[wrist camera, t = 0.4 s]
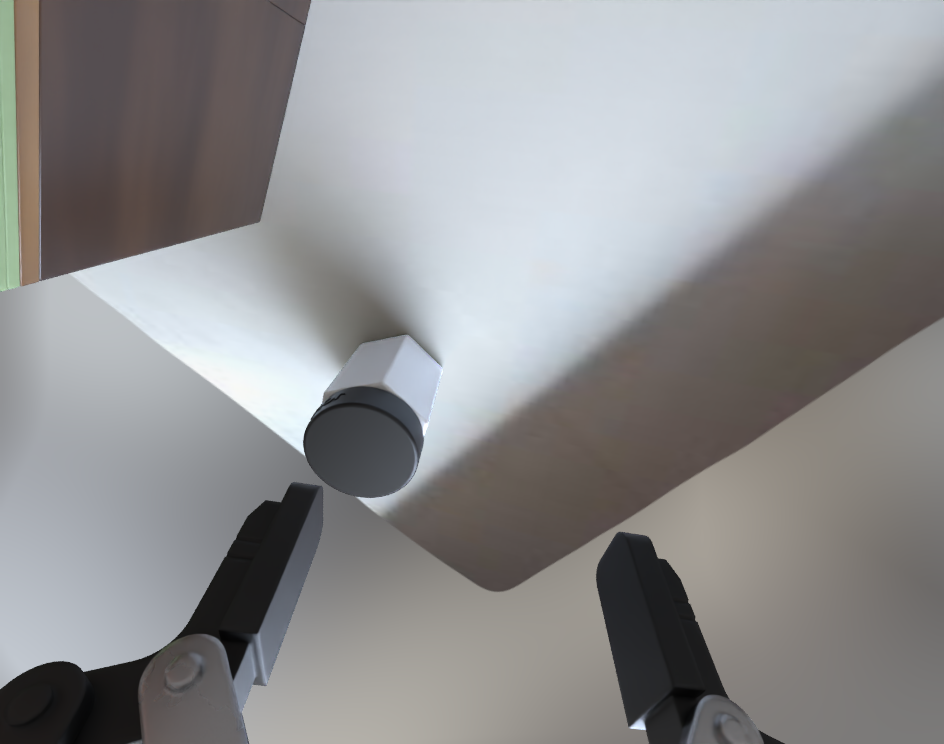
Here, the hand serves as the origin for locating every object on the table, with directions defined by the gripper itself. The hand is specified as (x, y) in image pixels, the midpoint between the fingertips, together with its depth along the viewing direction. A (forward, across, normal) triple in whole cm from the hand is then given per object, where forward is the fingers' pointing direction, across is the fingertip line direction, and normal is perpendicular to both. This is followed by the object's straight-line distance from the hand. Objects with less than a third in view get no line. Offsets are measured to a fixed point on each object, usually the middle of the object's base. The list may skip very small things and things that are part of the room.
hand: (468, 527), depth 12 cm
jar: (+26, +5, +14) cm, 30 cm away
